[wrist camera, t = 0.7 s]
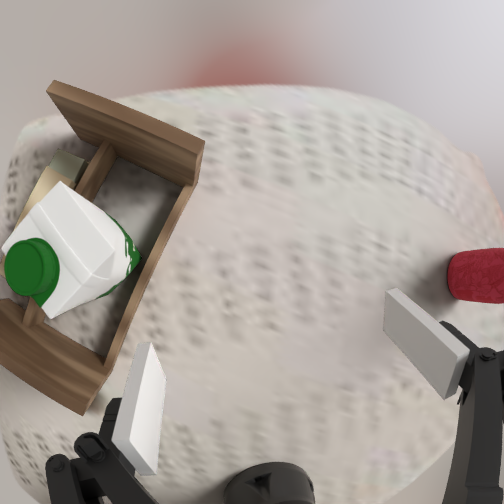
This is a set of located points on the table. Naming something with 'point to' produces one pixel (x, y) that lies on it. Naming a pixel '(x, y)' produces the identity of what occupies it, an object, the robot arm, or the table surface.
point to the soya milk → (67, 252)
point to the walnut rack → (110, 147)
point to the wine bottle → (478, 275)
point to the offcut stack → (53, 182)
